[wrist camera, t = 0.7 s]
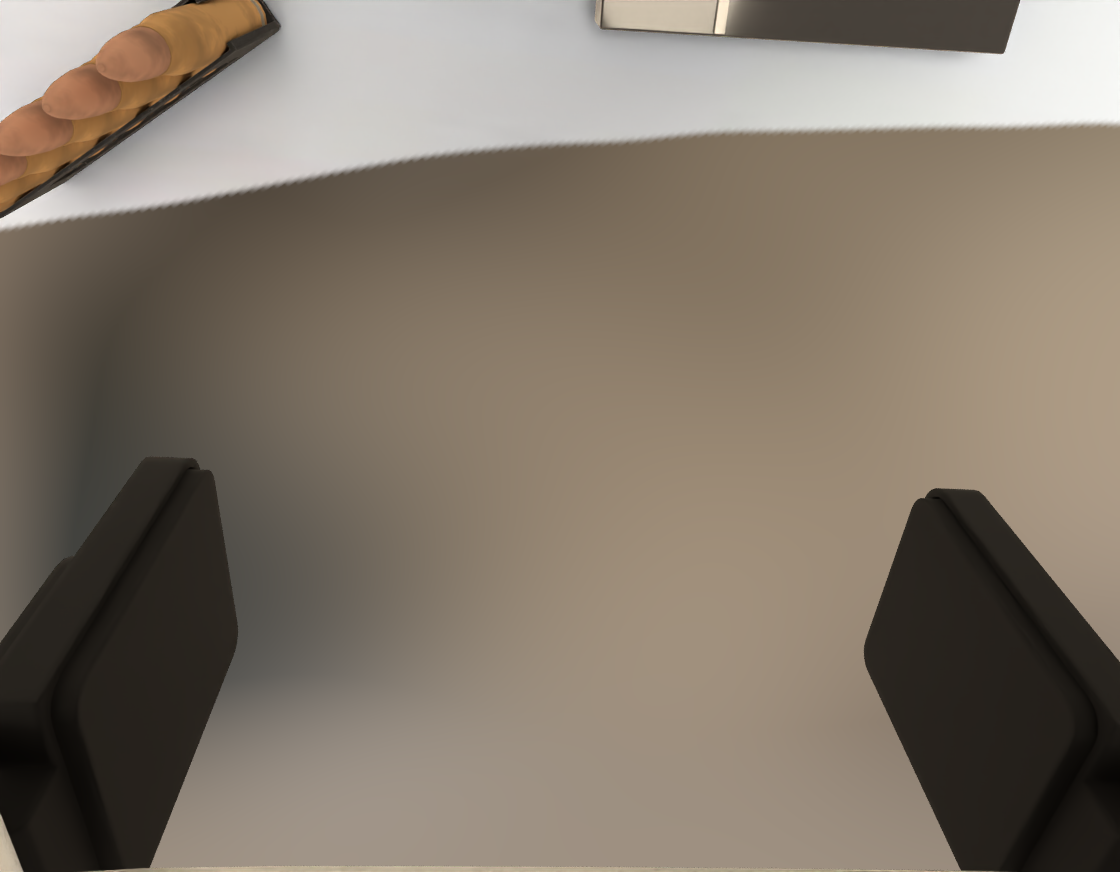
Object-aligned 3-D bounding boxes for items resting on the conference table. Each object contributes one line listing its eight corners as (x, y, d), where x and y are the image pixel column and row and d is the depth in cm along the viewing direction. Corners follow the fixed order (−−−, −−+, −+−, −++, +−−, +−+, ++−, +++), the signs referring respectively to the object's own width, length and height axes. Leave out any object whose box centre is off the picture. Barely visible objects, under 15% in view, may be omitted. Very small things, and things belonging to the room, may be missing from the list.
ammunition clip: (247, -24, 29) (100, 6, 19) (283, 28, 30) (160, 82, 20) (24, 140, 32) (-213, 245, 21) (62, 183, 33) (-147, 304, 22)
